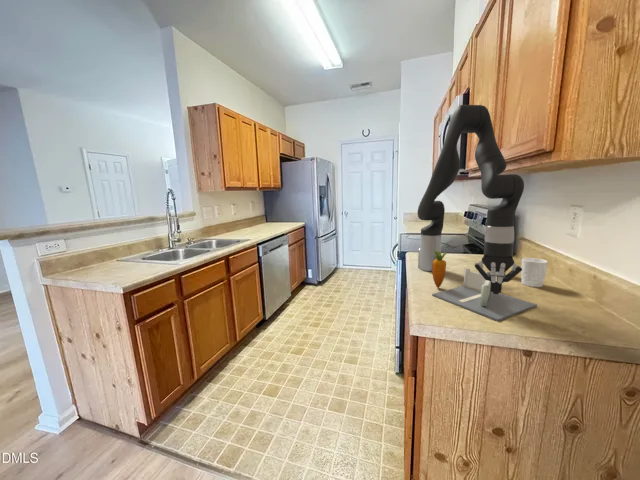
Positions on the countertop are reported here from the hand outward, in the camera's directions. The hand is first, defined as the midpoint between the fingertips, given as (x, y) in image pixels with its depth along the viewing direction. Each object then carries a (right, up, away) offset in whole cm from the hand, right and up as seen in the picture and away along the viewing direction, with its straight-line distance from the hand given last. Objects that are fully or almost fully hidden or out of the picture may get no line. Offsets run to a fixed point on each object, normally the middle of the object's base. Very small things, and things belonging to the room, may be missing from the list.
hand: (495, 293), depth 84 cm
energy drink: (+23, +1, +33) cm, 41 cm away
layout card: (-1, -4, +6) cm, 7 cm away
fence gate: (0, -3, +4) cm, 5 cm away
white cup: (+28, -1, +20) cm, 34 cm away
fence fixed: (+3, -2, +15) cm, 15 cm away
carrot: (-10, -2, +19) cm, 22 cm away
